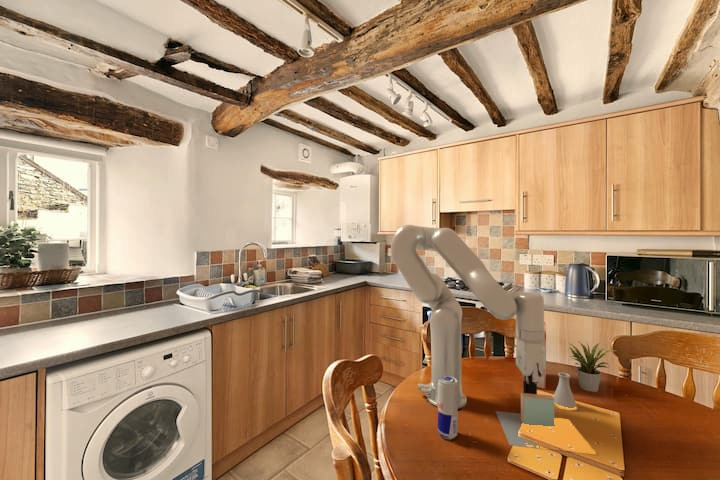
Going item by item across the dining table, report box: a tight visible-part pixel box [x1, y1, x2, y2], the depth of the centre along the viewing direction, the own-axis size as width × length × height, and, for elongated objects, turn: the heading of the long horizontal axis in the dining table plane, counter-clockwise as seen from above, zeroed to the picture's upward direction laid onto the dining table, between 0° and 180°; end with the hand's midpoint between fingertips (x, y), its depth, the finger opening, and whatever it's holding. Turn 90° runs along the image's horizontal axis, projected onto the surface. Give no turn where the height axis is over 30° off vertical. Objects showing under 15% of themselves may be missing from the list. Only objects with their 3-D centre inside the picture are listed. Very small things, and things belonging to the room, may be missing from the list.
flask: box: [552, 372, 578, 408], centre depth 98 cm, size 7×7×10 cm
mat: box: [495, 410, 540, 449], centre depth 85 cm, size 20×16×1 cm
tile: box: [520, 392, 555, 426], centre depth 88 cm, size 8×2×8 cm, turn 78°
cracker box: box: [537, 321, 547, 390], centre depth 116 cm, size 14×6×21 cm, turn 150°
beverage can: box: [437, 376, 459, 440], centre depth 84 cm, size 5×5×15 cm
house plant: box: [568, 340, 617, 393], centre depth 110 cm, size 14×14×16 cm
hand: (530, 395), depth 94 cm, fingers closed
